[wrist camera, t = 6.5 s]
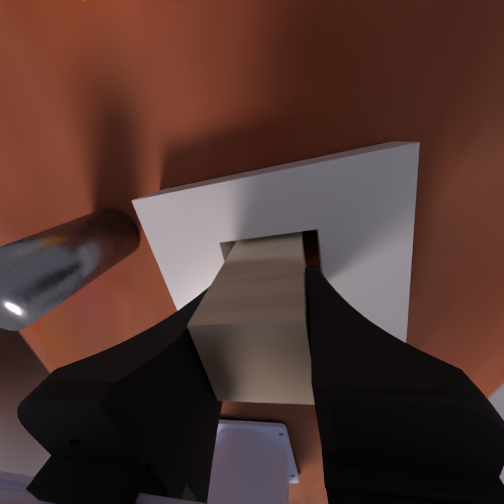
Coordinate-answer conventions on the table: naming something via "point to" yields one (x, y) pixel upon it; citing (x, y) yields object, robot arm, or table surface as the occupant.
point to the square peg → (257, 324)
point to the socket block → (299, 224)
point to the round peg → (60, 263)
